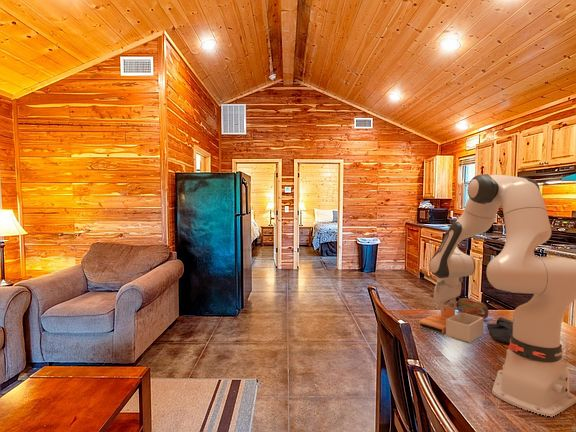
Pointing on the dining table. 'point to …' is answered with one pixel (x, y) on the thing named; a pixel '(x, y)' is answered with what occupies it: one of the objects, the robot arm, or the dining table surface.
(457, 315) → the tub
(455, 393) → the dining table surface
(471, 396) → the dining table surface
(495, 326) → the dark slate chunk
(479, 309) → the brown arch piece
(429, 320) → the lid
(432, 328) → the mat
